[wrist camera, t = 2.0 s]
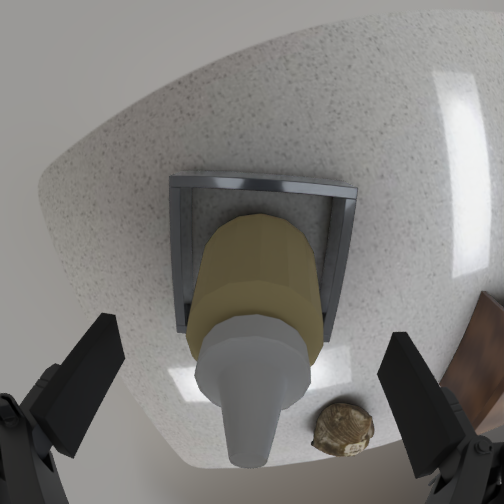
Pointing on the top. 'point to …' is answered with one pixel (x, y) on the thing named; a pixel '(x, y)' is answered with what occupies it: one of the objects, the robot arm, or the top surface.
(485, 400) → the wooden shelf
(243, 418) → the squeeze bottle
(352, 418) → the fossilized seashell
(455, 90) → the top surface
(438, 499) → the robot arm
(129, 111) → the top surface
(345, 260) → the holder
